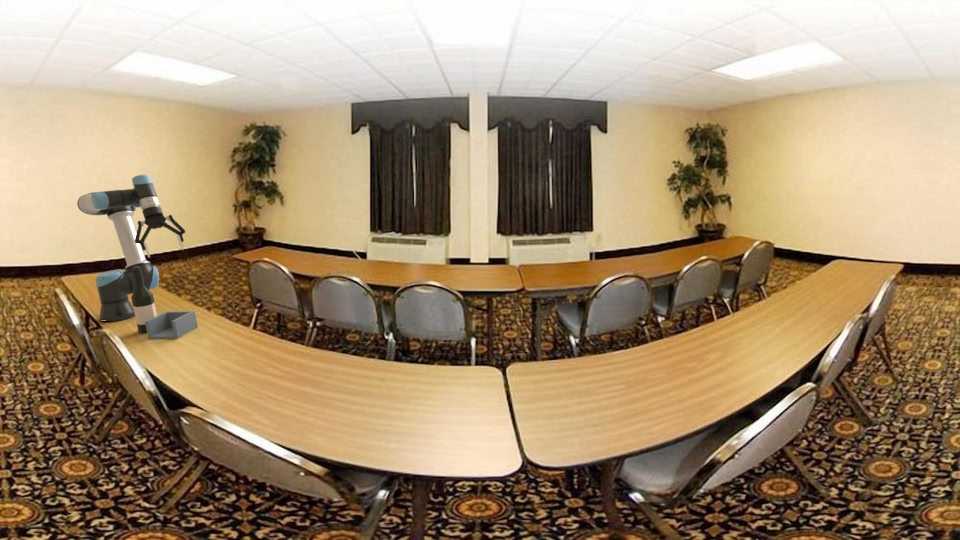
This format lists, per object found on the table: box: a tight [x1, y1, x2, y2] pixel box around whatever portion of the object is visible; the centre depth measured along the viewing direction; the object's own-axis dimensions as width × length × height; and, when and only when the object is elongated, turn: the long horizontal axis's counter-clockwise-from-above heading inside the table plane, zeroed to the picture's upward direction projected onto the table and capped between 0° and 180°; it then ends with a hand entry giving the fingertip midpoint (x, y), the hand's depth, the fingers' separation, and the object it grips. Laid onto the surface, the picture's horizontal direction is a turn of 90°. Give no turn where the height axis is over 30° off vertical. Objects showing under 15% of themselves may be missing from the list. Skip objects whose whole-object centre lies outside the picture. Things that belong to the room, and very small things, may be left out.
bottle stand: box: [145, 310, 199, 340], centre depth 244 cm, size 14×14×8 cm
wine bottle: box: [130, 266, 158, 334], centre depth 247 cm, size 8×8×30 cm
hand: (166, 252), depth 247 cm, fingers open, 13 cm apart
